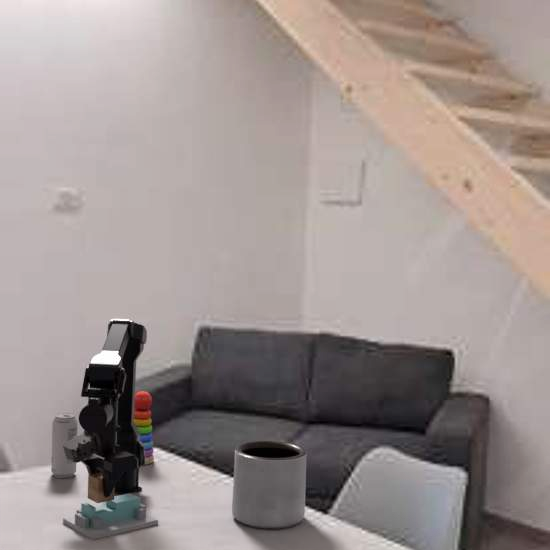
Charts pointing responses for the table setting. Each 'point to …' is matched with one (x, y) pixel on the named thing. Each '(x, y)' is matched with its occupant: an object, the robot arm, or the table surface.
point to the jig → (109, 524)
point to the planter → (269, 484)
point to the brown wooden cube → (97, 489)
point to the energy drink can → (61, 433)
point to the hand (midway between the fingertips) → (101, 494)
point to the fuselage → (113, 509)
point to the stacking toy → (144, 423)
